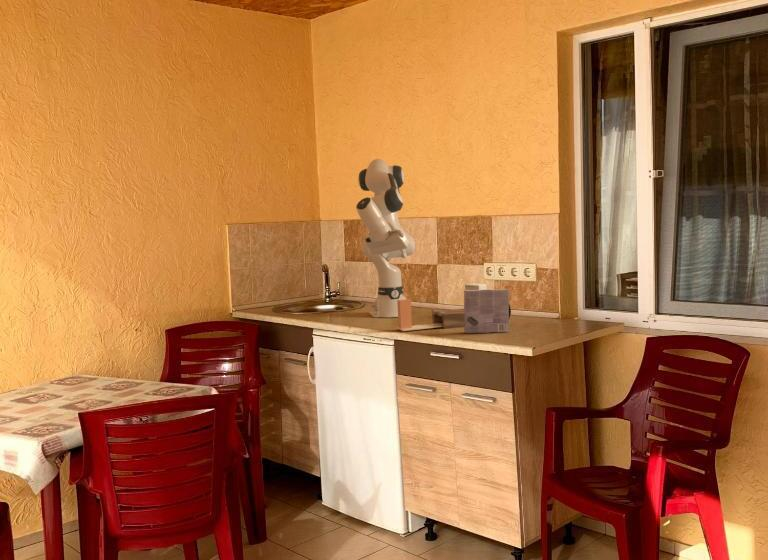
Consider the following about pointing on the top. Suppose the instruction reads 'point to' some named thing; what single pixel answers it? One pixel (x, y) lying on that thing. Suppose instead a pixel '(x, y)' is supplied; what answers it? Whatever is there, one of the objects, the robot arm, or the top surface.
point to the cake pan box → (486, 311)
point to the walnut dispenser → (449, 318)
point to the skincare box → (475, 286)
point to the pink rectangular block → (410, 317)
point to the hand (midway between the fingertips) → (397, 258)
